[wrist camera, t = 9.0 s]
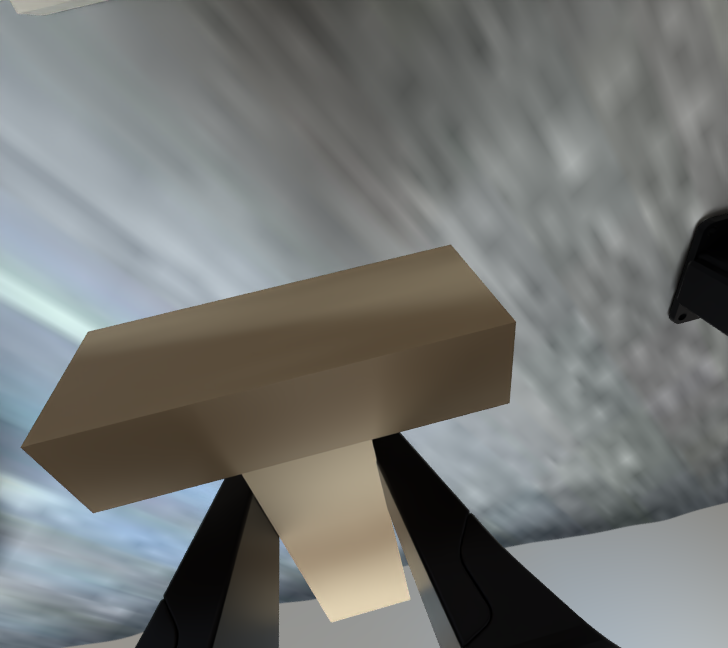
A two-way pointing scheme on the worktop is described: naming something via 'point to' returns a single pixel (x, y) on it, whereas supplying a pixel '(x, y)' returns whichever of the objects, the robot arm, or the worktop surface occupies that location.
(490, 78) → the worktop surface
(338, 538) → the wooden pusher
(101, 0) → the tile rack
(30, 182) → the worktop surface
